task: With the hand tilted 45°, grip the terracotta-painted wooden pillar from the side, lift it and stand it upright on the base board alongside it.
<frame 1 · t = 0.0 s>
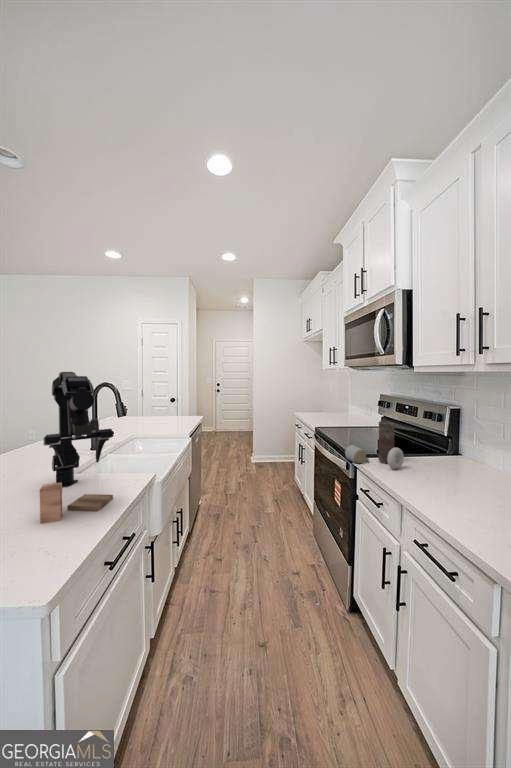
hand: (81, 464, 102), 15 cm above the countertop, tool pointing down, fingers open, 9 cm apart
pillar: (51, 518, 99), on the countertop
grey cylinder: (357, 462, 164), on the countertop
candle: (386, 462, 163), on the countertop
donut: (395, 469, 151), on the countertop
base board: (91, 504, 110), on the countertop
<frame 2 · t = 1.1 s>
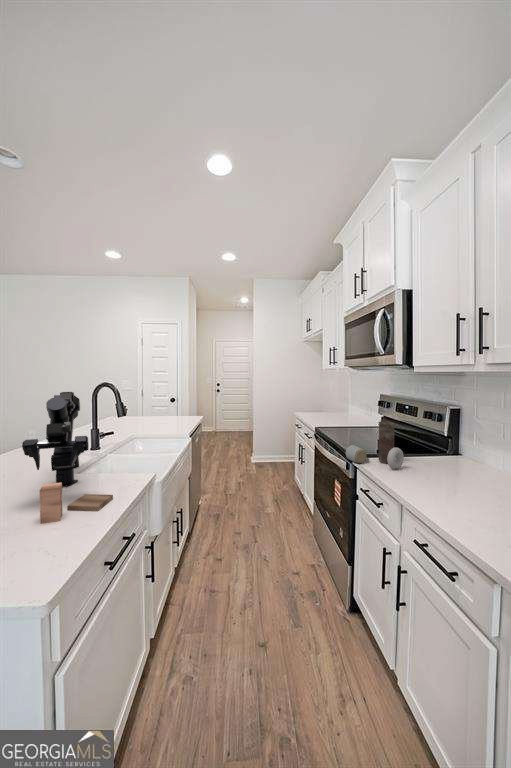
hand: (54, 467, 106), 13 cm above the countertop, tool tilted 45°, fingers open, 9 cm apart
nothing on the countertop moved.
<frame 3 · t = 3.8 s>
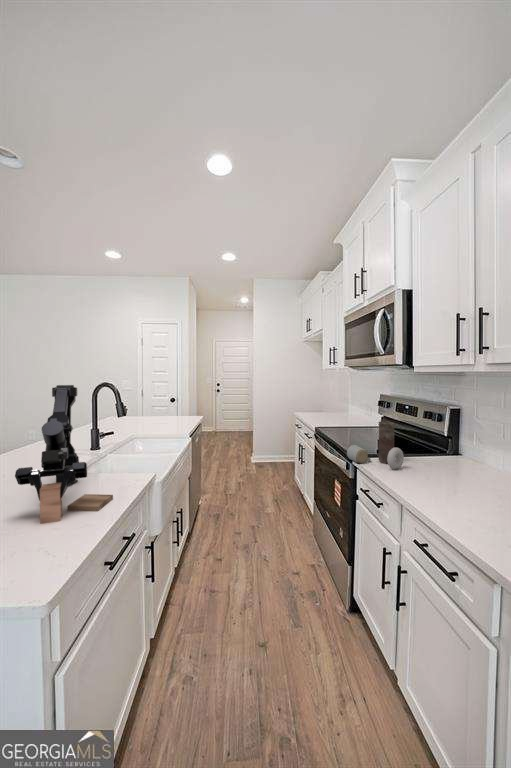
hand: (50, 498, 98), 7 cm above the countertop, tool tilted 45°, fingers closed on pillar, 5 cm apart
pillar: (51, 518, 99), on the countertop, touching gripper
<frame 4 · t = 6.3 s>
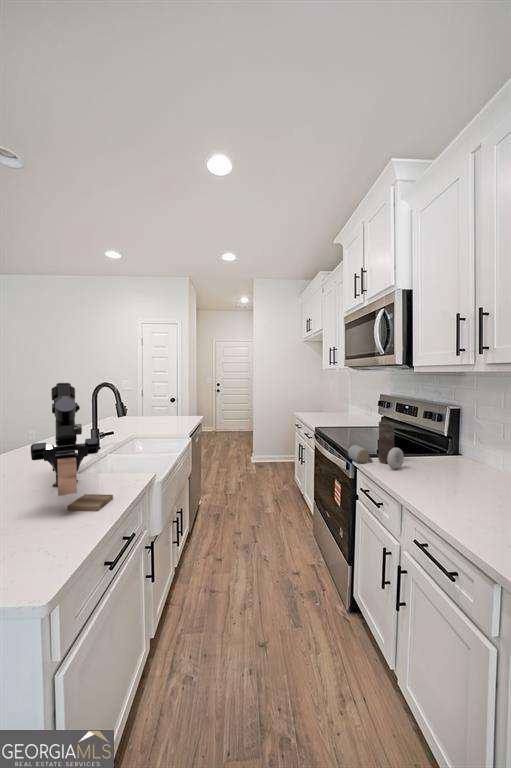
hand: (67, 472, 101), 13 cm above the countertop, tool tilted 45°, fingers closed on pillar, 5 cm apart
pillar: (67, 491, 102), point 7 cm above the countertop, touching gripper
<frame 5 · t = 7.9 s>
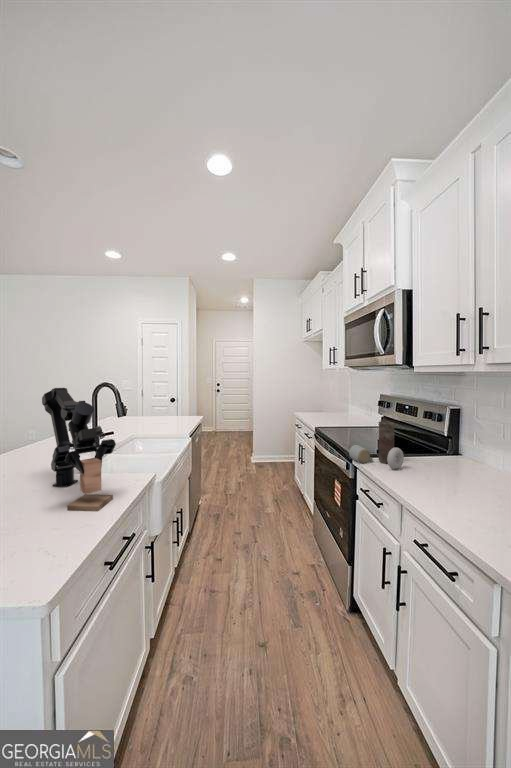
hand: (92, 471, 108), 11 cm above the countertop, tool tilted 45°, fingers closed on pillar, 5 cm apart
pillar: (90, 490, 110), point 5 cm above the countertop, touching gripper
when the fingers open (9 cm above the countertop, at t = 8.8 s): pillar drops 1 cm, resting on base board.
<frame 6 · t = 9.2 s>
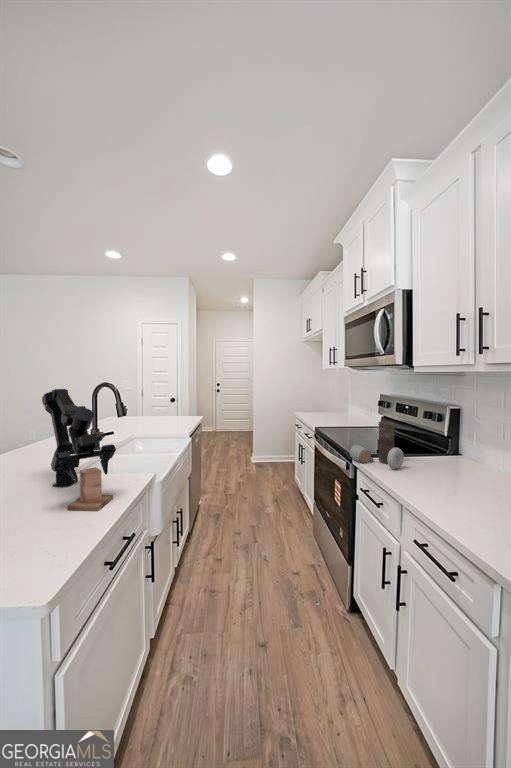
hand: (92, 477, 108), 10 cm above the countertop, tool tilted 45°, fingers open, 9 cm apart
pillar: (90, 500, 110), point 1 cm above the countertop, touching base board
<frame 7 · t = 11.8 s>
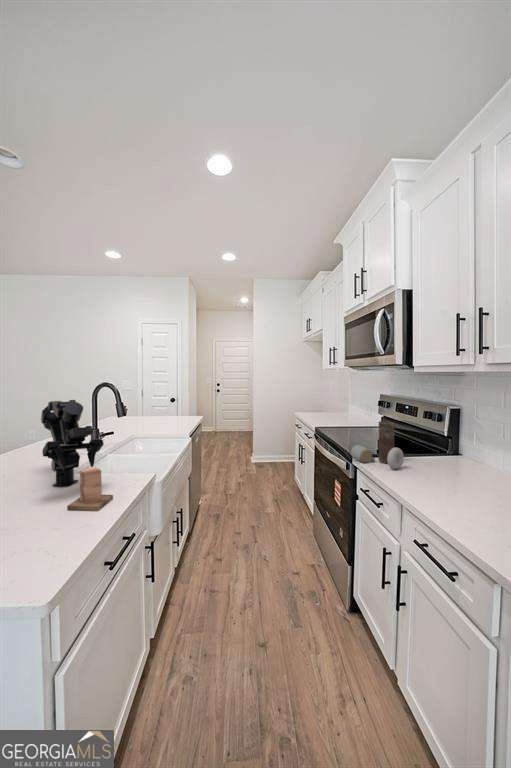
hand: (78, 468, 115), 11 cm above the countertop, tool tilted 40°, fingers open, 9 cm apart
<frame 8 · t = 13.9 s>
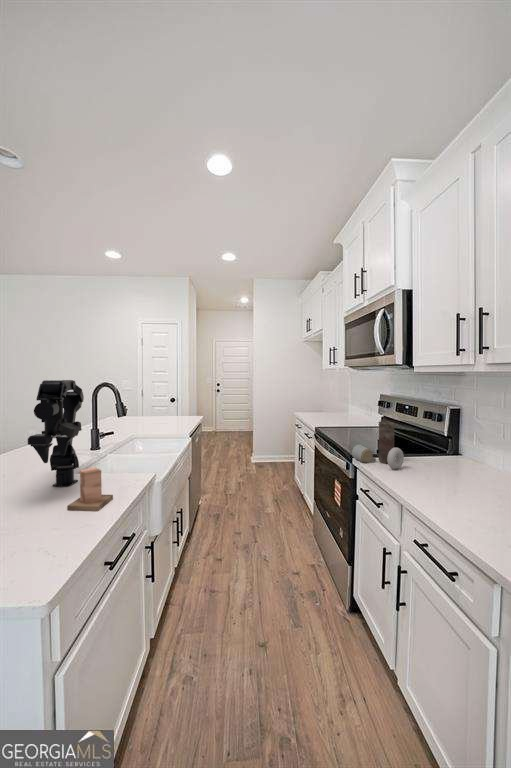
hand: (54, 459, 117), 13 cm above the countertop, tool pointing down, fingers open, 9 cm apart
at the end: pillar 0.0 cm off-centre on the base board, point 1.5 cm above the base board's base; pillar tilted 0°; the gripper is holding nothing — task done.
